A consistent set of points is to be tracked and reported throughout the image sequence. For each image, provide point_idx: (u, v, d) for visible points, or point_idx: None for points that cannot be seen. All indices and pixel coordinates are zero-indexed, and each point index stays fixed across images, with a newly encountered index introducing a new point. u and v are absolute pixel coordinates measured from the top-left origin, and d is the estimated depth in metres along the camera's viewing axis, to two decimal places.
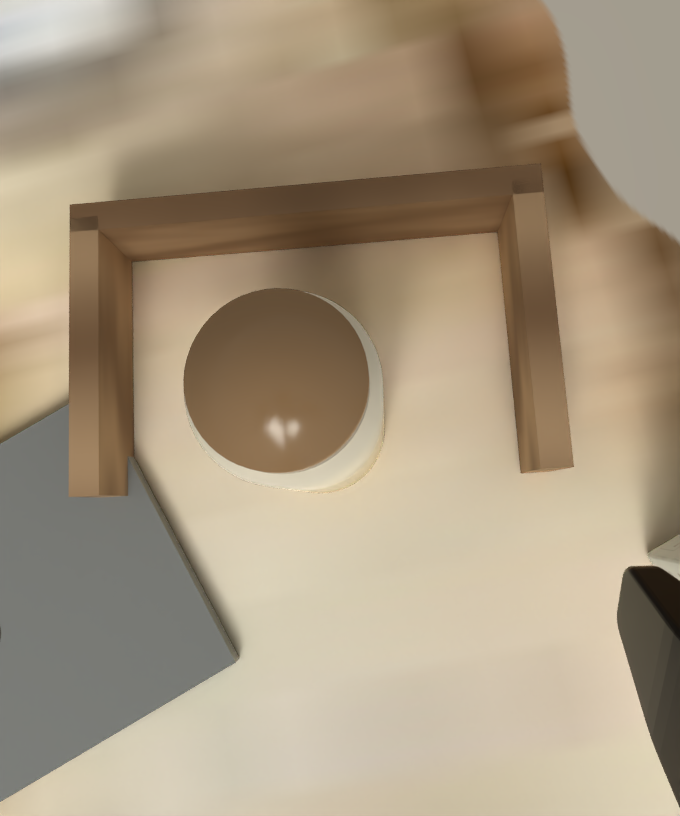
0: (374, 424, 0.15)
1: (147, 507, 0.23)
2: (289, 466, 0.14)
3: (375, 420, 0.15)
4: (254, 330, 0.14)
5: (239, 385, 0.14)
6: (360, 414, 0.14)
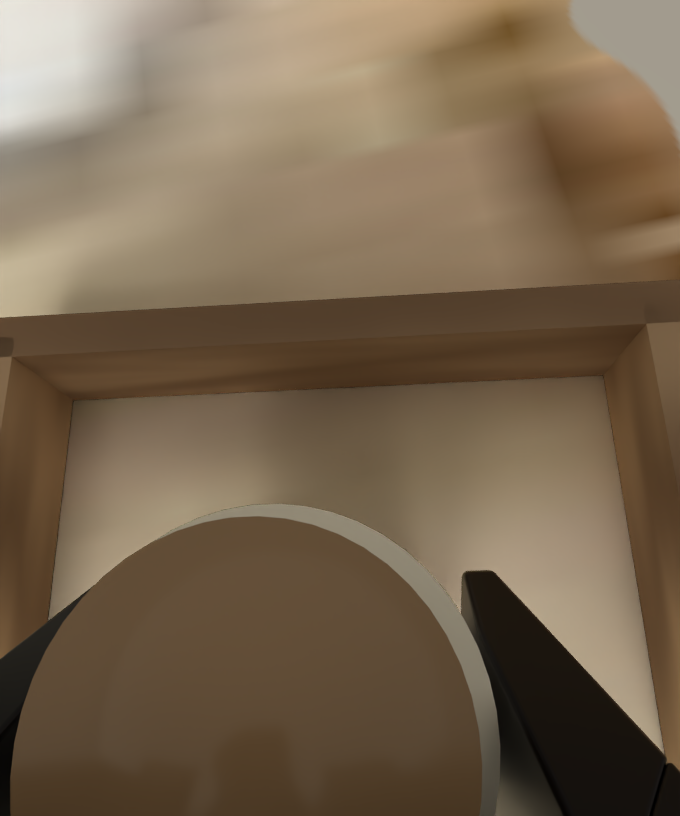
0: None
1: None
2: None
3: None
4: (198, 616, 0.06)
5: (150, 768, 0.06)
6: None
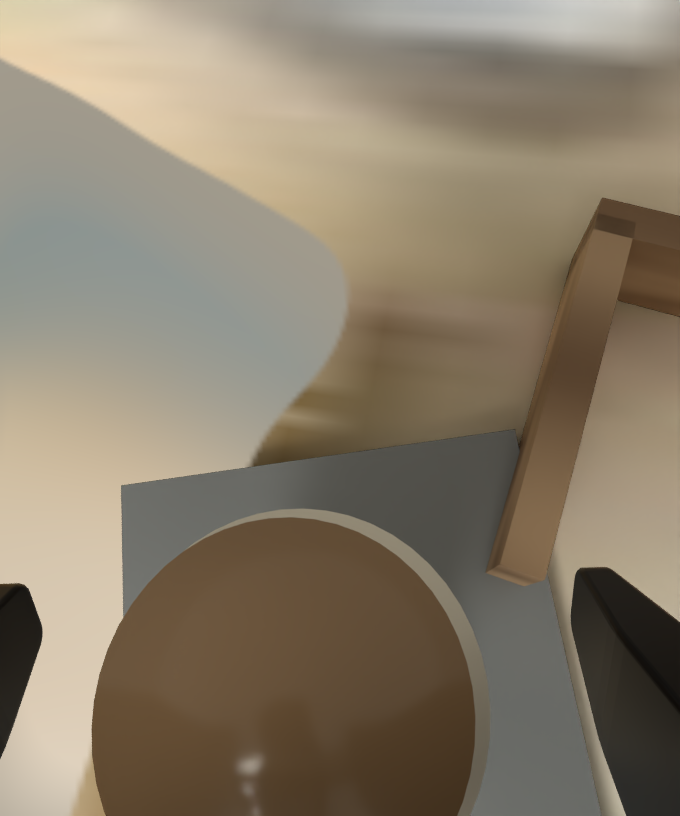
0: (474, 796, 0.07)
1: (547, 614, 0.16)
2: None
3: (476, 788, 0.07)
4: (243, 599, 0.07)
5: (206, 720, 0.07)
6: (459, 806, 0.06)
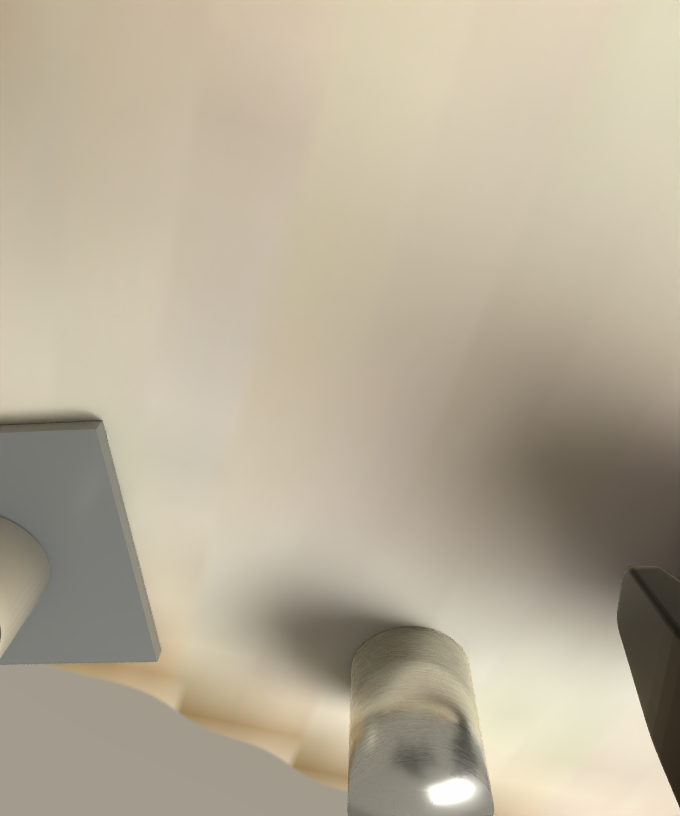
0: None
1: None
2: None
3: None
4: None
5: None
6: None
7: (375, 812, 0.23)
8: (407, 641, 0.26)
